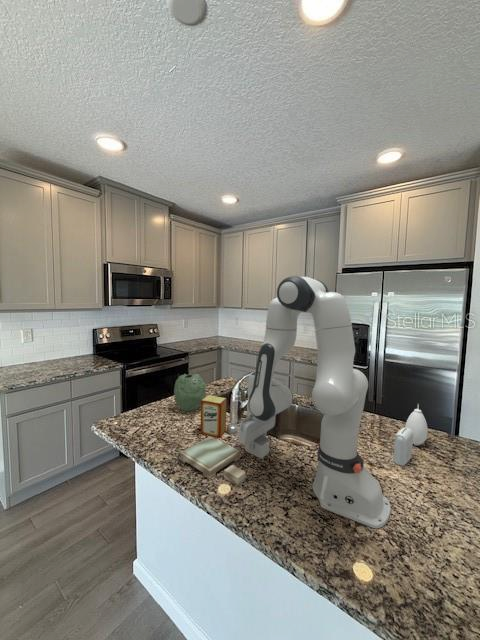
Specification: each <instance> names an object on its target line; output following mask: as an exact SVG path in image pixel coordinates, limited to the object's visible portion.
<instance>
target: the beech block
mask: <svg viewBox="0 0 480 640" xmlns="http://www.w3.org/2000/svg"><path fill="white" fill-rule="evenodd" d="M246 474H247V473H246V471H245V470H242V469H240V468H239V467H237V466H236V465H233V464H232V465H230V466H228V467H227V468H226V469H224V474H223V475H224V479H225V480H226V481H228V482H230V483H231V484H234V485H235V486H237V487H239V486H240V485H241V484H243V483H244V482H245V481H246V480H247V479H246V476H247V475H246Z"/></svg>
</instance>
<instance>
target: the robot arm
mask: <svg viewBox="0 0 480 640" xmlns="http://www.w3.org/2000/svg"><path fill="white" fill-rule="evenodd" d="M276 289H277V290H276V297H275V298H273V299H272V300H271V301H270V303H269V304H268V308H267V314H266V320H265V333H264V337H263V338H264V339H263V342H262V345H261V346H260V349H259V352H258V356H257V359H256V360H257V361H256V367H255V371H254V372H252V373H251V374H250V375H249V377H248V383H247V397H248V399H247V402H246V417H245V418H243V420H242V421H241V423H240V425H239V426H238V427H239V428H238V433H237V434H238V435H237V440H238V442H239V443H241V444H243V445H246V444H248V443H249V449H251V450H253V449H255V444H253V442H254V439H256V438H257V437H259V436H260V435H262V436H264V437H266V436H267V433H268V431H269V430H271V429H273V428H274V427H275V425H276V416H277V415H278V414H280V413H281V412H284V411H285V410H287V409H288V408H290V407H291V406H292V404H293V400H294V396H293V393H292V390H291V388H290V387H289V386H287V385H286V384H284V383H281V382H279V381H278V380H276V379H275V378H274V372H275V368H276V365H277V364H278V362H279V361H280V360H281V359H282V358H283V357H284V356H285V355H286V354H288V353H289V352H290V351H291V350H293V348H294V346H295V345H296V340H297V333H298V332H297V330H298V328H297V327H298V318H299V315H300V314H301V313H306V312H309V313H310V314H311V316H312V318H313V325H314V326H313V327H314V333H315V342H316V349H317V365H316V376H315V382H314V386H313V389H312V390H311V399H312V403H313V405H314V407H315V408H316V409H317V410H318V411H319V412H321V413H322V414H323V417H322V419H321V424H320V436H319V438H320V439H319V445H318V448H317V449H318V450H317V461H318V462H317V463H318V464H317V469H316V473H315V477H314V480H313V481H312V482H313V483H312V491H313V493H314V495H315V496H316V498H317V500H318V502H319V505H320V507H321V508H322V509H324V510H327V511H329V512H331V513H334V514H337V515H339V516H341V517H344V518H347V519H349V520H353V521H355V522H357V523H359V524H362V525H365V526H367V527H369V528H373V529H377V530H378V529H381V528H382V527H384V526H385V525H386V524H387V522H388V521H389V519H390V517H391V511H392V510H391V509H392V507H391V503H390V501H389V499H388V498H387V496H385V495H384V494H383V491H382V485H381V484H380V482H379V481H378V480H377V479H376V478H375V477H374V476H373V474H371V473H370V471H368V470H367V469H366V468H365V467H364V462H365V459H366V458H365V457H366V456H365V455H363V456H362V457H361V455H360V454H359V452H358V445H359V431H360V425H361V422H362V421H361V420H362V417H363V413H364V408H365V403H366V402H365V401H366V395H367V392H368V388H369V381H368V377H366V375H365V374H364V373H363V372H362V371H360V370H359V369H358V368H354V361H355V359H354V358H355V356H356V355H355V354H356V345H355V338H354V337H355V336H354V331H353V324H352V323H353V322H352V319H351V318H352V317H351V314H350V311H349V310H350V309H349V307H348V304H347V301H346V298H345V297H344V296H343V295H342V294H340V293H339V292H335V291H329V289H328V286H327V285H326V284H325V283H324V282H323V281H321V280H319V279H314V278H311V277H309V276H299V275H290V276H288V277H285V278H284V279H282V281H280V283H279V284H278V286H277V288H276Z"/></svg>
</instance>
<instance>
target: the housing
mask: <svg viewBox="0 0 480 640" xmlns="http://www.w3.org/2000/svg"><path fill="white" fill-rule="evenodd" d="M253 444H255V449H253V450H251V449H249V443H248V444H246V445H245V444H244V445H245V447H244V451H245V452H247V453H249V454H251V455H253V456H255V457H256V458H259V459H263V458H264V457H265V456H267V455H269V454H270V453H269V452H270V438H269V437H266V436H265V437H264V436H262V435H260V436H259V437H257V438H256V439H254V442H253Z"/></svg>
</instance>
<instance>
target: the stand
mask: <svg viewBox="0 0 480 640" xmlns="http://www.w3.org/2000/svg"><path fill="white" fill-rule="evenodd" d="M240 459H241V450H239V449H237V448H235V447H233V446H232V445H229V444H227V443H226V442H224V441H221V440H219V439H218V438H215V437H211V436H208V437H207V438H205V439H203V440H201V441H199V442H197V443H195V444H193V445H191V446H190V447H187V448H186V449H184V450H182V451H180V452H179V461H181V462H182V463H184V464H186V463H187V464H189V465H190V466H192V467H193V468H195V469H197V470H198V471H200V472H202V475H203V477H205V478H206V479H208V480H211V479H213V478H214V477H215V476H217V472H219V471H220V470H221V469H223V468H225V467H226V466H228V465H229V464H231V463H232V462H234V463H236V462H237V461H239V460H240Z"/></svg>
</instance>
